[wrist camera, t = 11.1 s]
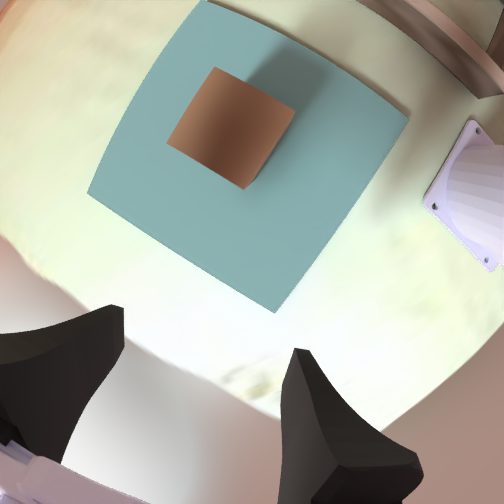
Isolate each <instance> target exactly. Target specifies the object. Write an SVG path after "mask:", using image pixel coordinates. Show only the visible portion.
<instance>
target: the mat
mask: <svg viewBox="0 0 504 504" xmlns="http://www.w3.org/2000/svg"><path fill="white" fill-rule="evenodd" d="M214 66H215V67H217V68H219V69H221V70H223V71H225V72H227V73H229V74H231V75H233V76H235V77H237V78H238V79H240V80H242V81H244V82H246V83H248V84H250V85H251V86H253V87H255V88H257V89H259V90H260V91H262V92H264V93H266V94H267V95H269V96H271V97H273V98H274V99H276V100H278V101H279V102H281V103H283V104H284V105H286V106H288V107H289V108H291V109H292V110H294V111H295V114H294V116H293V119H292V122H291V124H290V127H289V128H288V130H287V131H286V133H285V134H284V136H283V137H282V139H281V140H280V142H279V143H278V145H277V146H276V148H275V149H274V151H273V153H272V154H271V156H270V157H269V159H268V160H267V162H266V163H265V165H264V166H263V168H262V169H261V171H260V172H259V174H258V176H257V177H256V179H255V180H254V181H253V182H252V183H251V184H250V185H249V186H248V187H247V188H245V189H244V190H243V189H241V188H239V187H238V186H236V185H235V184H233V183H231V182H230V181H228V180H227V179H225V178H223V177H222V176H220V175H218V174H217V173H215V172H214V171H212V170H210V169H209V168H207V167H205V166H204V165H202V164H200V163H199V162H197V161H195V160H194V159H192V158H190V157H189V156H187V155H185V154H184V153H182V152H180V151H178V150H177V149H175V148H173V147H172V146H170V145H168V144H166V143H167V141H168V139H169V137H170V136H171V134H172V132H173V131H174V129H175V127H176V125H177V124H178V122H179V120H180V119H181V117H182V115H183V114H184V112H185V111H186V109H187V107H188V106H189V104H190V103H191V101H192V99H193V98H194V96H195V95H196V93H197V92H198V90H199V89H200V87H201V86H202V84H203V83H204V81H205V80H206V78H207V77H208V75H209V74H210V72H211V71H212V69H213V68H214ZM408 121H409V119H408V118H407V117H406V116H405V115H403V114H402V113H401V112H400V111H398V110H397V109H396V108H395V107H394V106H392V105H391V104H390V103H388V102H387V101H386V100H385V99H383V98H382V97H381V96H379V95H378V94H377V93H375V92H374V91H373V90H371V89H370V88H369V87H367V86H366V85H364V84H363V83H362V82H360V81H359V80H357V79H356V78H354V77H353V76H352V75H350V74H349V73H347V72H346V71H344V70H343V69H341V68H340V67H338V66H336V65H335V64H333V63H332V62H330V61H329V60H327V59H325V58H324V57H322V56H320V55H319V54H317V53H315V52H314V51H312V50H310V49H309V48H307V47H305V46H303V45H301V44H300V43H298V42H296V41H294V40H292V39H290V38H289V37H287V36H285V35H283V34H281V33H279V32H277V31H275V30H273V29H271V28H269V27H267V26H265V25H263V24H261V23H258V22H256V21H254V20H252V19H250V18H247V17H245V16H243V15H241V14H238V13H236V12H233V11H231V10H228V9H226V8H223V7H221V6H218V5H216V4H213V3H210V2H208V1H205V0H201V1H200V2H199V3H198V4H197V5H196V7H195V8H194V9H193V10H192V12H191V13H190V14H189V15H188V17H187V18H186V19H185V21H184V22H183V23H182V24H181V26H180V27H179V28H178V30H177V31H176V33H175V34H174V35H173V37H172V38H171V39H170V41H169V42H168V44H167V45H166V47H165V48H164V49H163V51H162V52H161V54H160V55H159V57H158V58H157V60H156V61H155V63H154V64H153V66H152V68H151V69H150V71H149V72H148V74H147V75H146V77H145V79H144V80H143V82H142V84H141V85H140V87H139V89H138V90H137V92H136V94H135V95H134V97H133V99H132V101H131V102H130V104H129V106H128V108H127V110H126V111H125V113H124V115H123V117H122V119H121V121H120V123H119V124H118V126H117V128H116V130H115V132H114V134H113V136H112V138H111V140H110V142H109V144H108V146H107V148H106V151H105V153H104V155H103V157H102V159H101V161H100V164H99V166H98V168H97V170H96V173H95V175H94V177H93V180H92V182H91V184H90V187H89V189H88V192H87V194H89V195H90V196H91V197H93V198H94V199H96V200H97V201H99V202H100V203H102V204H103V205H105V206H106V207H107V208H109V209H110V210H112V211H113V212H115V213H116V214H118V215H119V216H121V217H122V218H124V219H125V220H127V221H128V222H130V223H131V224H133V225H134V226H136V227H137V228H139V229H140V230H142V231H143V232H145V233H146V234H148V235H149V236H151V237H152V238H154V239H155V240H157V241H159V242H160V243H162V244H163V245H165V246H166V247H168V248H169V249H171V250H172V251H174V252H176V253H177V254H179V255H180V256H182V257H183V258H185V259H187V260H188V261H190V262H191V263H193V264H194V265H196V266H198V267H199V268H201V269H202V270H204V271H206V272H207V273H209V274H210V275H212V276H214V277H215V278H217V279H218V280H220V281H222V282H223V283H225V284H227V285H228V286H230V287H231V288H233V289H235V290H236V291H238V292H240V293H241V294H243V295H245V296H246V297H248V298H250V299H251V300H253V301H255V302H256V303H258V304H260V305H261V306H263V307H265V308H266V309H268V310H270V311H271V312H273V313H276V311H277V310H278V309H279V308H280V306H281V305H282V304H283V302H284V301H285V300H286V298H287V297H288V296H289V294H290V293H291V292H292V291H293V289H294V288H295V287H296V285H297V284H298V283H299V281H300V280H301V279H302V277H303V276H304V274H305V273H306V272H307V270H308V269H309V268H310V266H311V265H312V264H313V262H314V261H315V260H316V258H317V257H318V255H319V254H320V253H321V251H322V250H323V248H324V247H325V246H326V244H327V243H328V241H329V240H330V239H331V237H332V236H333V234H334V233H335V232H336V230H337V229H338V227H339V226H340V225H341V223H342V222H343V220H344V219H345V217H346V216H347V214H348V213H349V212H350V210H351V209H352V207H353V206H354V204H355V203H356V201H357V200H358V198H359V197H360V195H361V194H362V192H363V191H364V190H365V188H366V187H367V185H368V184H369V182H370V181H371V179H372V178H373V176H374V174H375V173H376V171H377V170H378V168H379V167H380V165H381V164H382V162H383V161H384V159H385V158H386V156H387V154H388V153H389V151H390V150H391V148H392V147H393V145H394V143H395V142H396V140H397V139H398V137H399V136H400V134H401V132H402V131H403V129H404V127H405V126H406V124H407V123H408Z"/></svg>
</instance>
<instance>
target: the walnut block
mask: <svg viewBox="0 0 504 504" xmlns="http://www.w3.org/2000/svg"><path fill="white" fill-rule="evenodd" d="M294 114H295V111H294V110H292V109H291V108H289V107H288V106H286V105H284V104H283V103H281V102H279V101H278V100H276V99H274V98H273V97H271V96H269V95H267V94H266V93H264V92H262V91H260V90H259V89H257V88H255V87H253V86H251V85H250V84H248V83H246V82H244V81H242V80H240V79H238V78H237V77H235V76H233V75H231V74H229V73H227V72H225V71H223V70H221V69H219V68H217V67H215V66H214V68H213V69H212V71H211V72H210V74H209V75H208V77H207V78H206V80H205V81H204V83H203V84H202V86H201V87H200V89H199V90H198V92H197V93H196V95H195V96H194V98H193V99H192V101H191V103H190V104H189V106H188V107H187V109H186V111H185V112H184V114H183V115H182V117H181V119H180V120H179V122H178V124H177V125H176V127H175V129H174V131H173V132H172V134H171V136H170V137H169V139H168V141H167V143H166V144H168V145H170V146H172V147H173V148H175V149H177V150H178V151H180V152H182V153H184V154H185V155H187V156H189V157H190V158H192V159H194V160H195V161H197V162H199V163H200V164H202V165H204V166H205V167H207V168H209V169H210V170H212V171H214V172H215V173H217V174H218V175H220V176H222V177H223V178H225V179H227V180H228V181H230V182H231V183H233V184H235V185H236V186H238V187H239V188H241V189H243V190H244V189H245V188H247V187H248V186H249V185H250V184H251V183H252V182H253V181H254V180H255V179H256V177H257V176H258V174H259V172H260V171H261V169H262V168H263V166H264V165H265V163H266V162H267V160H268V159H269V157H270V156H271V154H272V153H273V151H274V149H275V148H276V146H277V145H278V143H279V142H280V140H281V139H282V137H283V136H284V134H285V133H286V131H287V130H288V128H289V127H290V124H291V122H292V119H293V116H294Z"/></svg>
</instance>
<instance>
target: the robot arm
mask: <svg viewBox="0 0 504 504" xmlns="http://www.w3.org/2000/svg"><path fill="white" fill-rule="evenodd" d="M476 129H477V130H478V133H476ZM434 203H435V204H436V207H435V209H433V208H432V205H433V204H434ZM423 206H424V207H425V208H426V209H427V210H428V211H429V212H430V213H432V214H433V215H434V216H435V217H436V218H437V219H438V220H439V221H440V222H441V223H442V224H443V225H444V226H445V227H446V228H447V229H448V230H449V231H450V232H451V233H452V234H453V235H454V236H455V237H456V238H457V239H458V240H459V241H460V242H461V243H462V244H463V245H464V246H465V247H466V248H467V249H468V250H469V251H470V252H471V253H472V254H473V255H474V256H475V257H476V259H477V260H478V261H479V262H480V263H481V264H482V265H483V266H484V267H485V269H486V270H488V271H489V272H492V271H494V269H495V268H496V266H497V265H498V264H500V265H501V266H503V267H504V145H496V144H495V143H494V142H493V140H492V139H491V138H490V137H489V136H488V135H487V133H486V132H485V131H484V130H483V129H482V128H481V126H480V125H479V124H478V123H477V122H476V121H475V120H468V121H467V123H466V125H465V127H464V129H463V131H462V133H461V134H460V136H459V138H458V140H457V142H456V144H455V145H454V147H453V149H452V151H451V153H450V154H449V156H448V158H447V160H446V161H445V163H444V165H443V166H442V168H441V170H440V172H439V173H438V175H437V177H436V178H435V180H434V181H433V183H432V185H431V186H430V188H429V190H428V191H427V193H426V194H425V196H424V198H423ZM485 258H486V260H485ZM484 260H485V261H484ZM123 348H124V308H122V307H119V306H115V305H112V304H111V305H107V306H104V307H102V308H99V309H97V310H94V311H92V312H89V313H86V314H84V315H81V316H79V317H76V318H74V319H71V320H68V321H65V322H62V323H59V324H56V325H53V326H49V327H46V328H41V329H37V330H32V331H25V332H18V333H7V334H0V504H150V503H147V502H145V501H142V500H140V499H137V498H135V497H132V496H130V495H127V494H125V493H122V492H119V491H117V490H114V489H112V488H109V487H107V486H104V485H102V484H100V483H97V482H95V481H93V480H91V479H88V478H86V477H84V476H82V475H80V474H78V473H76V472H74V471H72V470H70V469H68V468H66V467H64V466H62V465H60V464H61V461H62V458H63V455H64V453H65V450H66V447H67V445H68V442H69V440H70V438H71V435H72V433H73V431H74V429H75V426H76V424H77V422H78V420H79V418H80V416H81V414H82V412H83V410H84V408H85V407H86V405H87V403H88V402H89V400H90V399H91V397H92V396H93V394H94V393H95V391H96V390H97V389H98V387H99V386H100V385H101V383H102V382H103V381H104V379H105V378H106V376H107V375H108V374H109V372H110V371H111V370H112V368H113V367H114V365H115V364H116V362H117V360H118V358H119V356H120V354H121V352H122V350H123ZM280 407H281V429H282V468H281V479H280V488H279V496H278V504H402V500H403V499H405V498H406V497H407V496H408V495H409V494H410V493H411V492H412V491H413V490H415V489H416V488H417V486H418V485H419V484H420V483H421V482H422V479H423V477H424V474H423V470H422V467H421V464H420V461H419V459H418V456H417V454H416V453H415V452H413V451H411V450H409V449H407V448H405V447H403V446H401V445H399V444H398V443H396V442H394V441H392V440H391V439H389V438H388V437H386V436H385V435H383V434H382V433H380V432H379V431H378V430H376V429H375V428H373V427H372V426H371V425H370V424H369V423H367V422H366V421H365V420H364V419H363V418H361V417H360V416H359V415H358V414H357V413H356V412H355V411H354V410H353V409H352V408H351V407H350V406H349V405H348V404H347V403H346V402H345V400H344V399H343V398H342V397H341V396H340V394H339V393H338V392H337V391H336V390H335V388H334V387H333V386H332V384H331V383H330V382H329V380H328V379H327V377H326V376H325V374H324V373H323V371H322V370H321V368H320V367H319V365H318V363H317V362H316V360H315V359H314V357H313V355H312V354H311V352H310V351H309V350H304V349H298V348H294V351H293V354H292V357H291V360H290V363H289V366H288V369H287V372H286V375H285V378H284V381H283V384H282V392H281V404H280Z"/></svg>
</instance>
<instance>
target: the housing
mask: <svg viewBox="0 0 504 504" xmlns="http://www.w3.org/2000/svg"><path fill="white" fill-rule="evenodd" d="M357 1H358V2H360V3H362V4H363V5H365V6H367V7H368V8H370V9H371V10H373V11H374V12H376V13H377V14H379V15H381V16H382V17H383V18H385V19H386V20H388V21H389V22H391V23H392V24H394V25H395V26H396V27H398V28H399V29H401V30H402V31H403V32H405V33H406V34H407V35H409V36H410V37H411V38H412V39H414V40H415V41H416V42H417V43H419V44H420V45H421V46H422V47H424V48H425V49H426V50H427V51H428V52H430V53H431V54H432V55H433V56H434V57H436V58H437V59H438V60H439V61H440V62H441V63H442V64H443V65H445V66H446V67H447V68H448V69H449V70H450V71H451V72H452V73H453V74H454V75H455V76H456V77H457V78H458V79H459V80H460V81H461V82H462V83H463V84H464V85H465V86H466V87H467V88H468V89H469V90H470V91H471V92H472V93H473V94H474V95H475V96H476V97H477V98H478V99H480V98H485V97H490V96H494V95H499V94H504V10H503V13H502V16H501V19H500V21H499V24H498V26H497V29H496V32H495V34H494V37H493V39H492V41H491V44H490V46H489V49H488V51H487V53H486V52H485V51H484V50H483V49H482V48H481V47H480V46H479V45H478V44H477V43H476V42H475V41H474V40H473V39H472V38H471V37H470V36H469V35H468V34H467V33H465V32H464V31H463V30H462V29H461V28H460V27H459V26H458V25H457V24H456V23H454V22H453V21H452V20H451V19H450V18H449V17H447V16H446V15H445V14H444V13H443V12H441V11H440V10H439V9H438V8H437V7H435V6H434V5H433V4H431V3H430V2H429V1H428V0H357ZM501 1H502V2H503V4H504V0H501Z"/></svg>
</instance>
